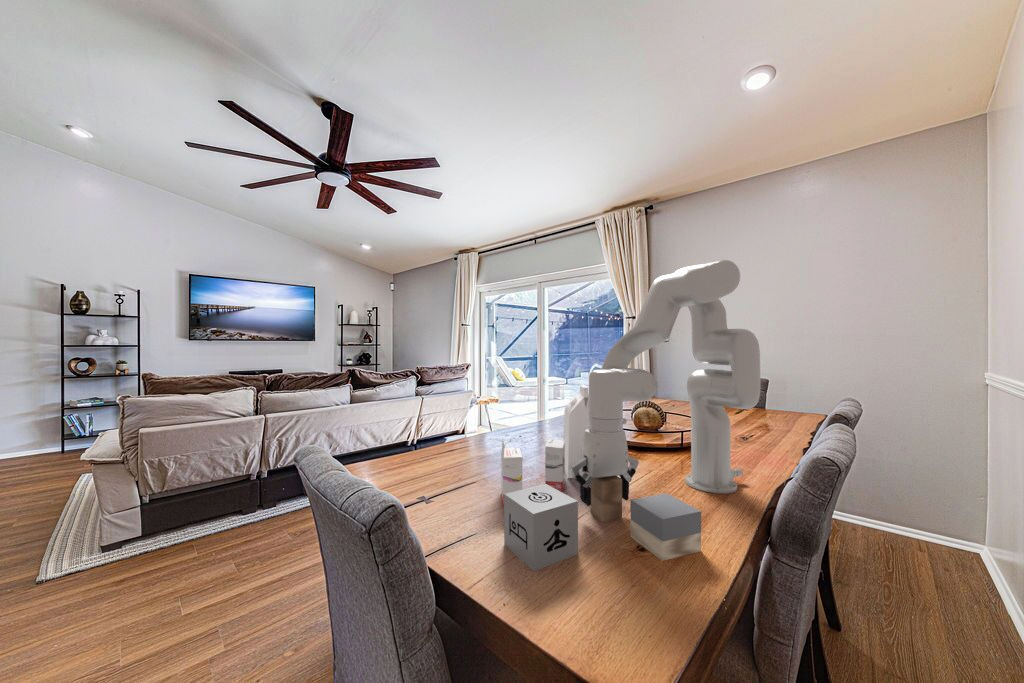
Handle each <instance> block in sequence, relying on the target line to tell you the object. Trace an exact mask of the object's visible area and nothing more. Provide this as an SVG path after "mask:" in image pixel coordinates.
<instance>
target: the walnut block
mask: <svg viewBox="0 0 1024 683" xmlns="http://www.w3.org/2000/svg"><path fill="white" fill-rule="evenodd" d="M590 488H591V505H590V514H592V515H593V516H594V517H595V518H596V519H597V520H599V521H601V523H607V522H612V521H617V520H622V519H623V498H622V479H621V478H620V476H619V475H618V476H611V477H603V478H594V479H593V481H592V482H591V484H590Z"/></svg>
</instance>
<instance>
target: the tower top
mask: <svg viewBox="0 0 1024 683" xmlns="http://www.w3.org/2000/svg"><path fill="white" fill-rule="evenodd" d="M630 519H631V520H632V521H634V522H635V523H637V524H638V525H639V526H641V527H642V528H644V529H645V530H647V531H648V532H650V533H651V534H652V535H654V536H655V537H657V538H658V539H660V540H661V541H662V542H663V541H668V540H672V539H676V538H681V537H685V536H689V535H693V534H698V533H701V534H702V510H699V509H698V508H696V507H694V506H692V505H690V504H689V503H686V502H684V501H682V500H681V499H679V498H677V497H675V496H672V495H671V494H669V493H666V492H664V493H660V494H655V495H653V494H652V495H647V496H642V497H637V498H632V499H630Z"/></svg>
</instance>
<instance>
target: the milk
mask: <svg viewBox="0 0 1024 683" xmlns="http://www.w3.org/2000/svg"><path fill="white" fill-rule="evenodd" d="M563 414H564V416H563V422H564V423H563V441H565V474H566V475H565V476H566V477H568V478H574V477H573V475H572V472H571V470H570V466H571V465H573V464H574V463H576V462H577V461H579V460H580V459H581V450H582V442H583V437H584V433H585V430H588V428H589V386H587V385H585V384H580V386H579V392H578V394H577V395H576V396H574V397H572V398H571V399H570V401H569V402H568V404H566V406H565V407H564V412H563ZM579 474H580V476H581V475H582V474H583V472H582V471H581V469H580V470H579ZM568 478H567V479H568Z"/></svg>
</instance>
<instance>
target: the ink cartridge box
mask: <svg viewBox="0 0 1024 683" xmlns="http://www.w3.org/2000/svg"><path fill="white" fill-rule="evenodd" d="M504 439H505V438H504V437H502V440H501V452H500V453H501V461H500V462H501V463H500V464H501V469H500V470H501V472H500V473H501V475H500V476H501V480H500V482H501V485H500V486H501V488H500V490H501V492H500V494H501V499H502V504H503V507H504V494H506V493H510V492H514V491H518V490H522V489H523V458H524V457H523V454H522V452H521V449H520V447H509V448H506V447H505V446H506V445H505V444H506V443H505V440H504Z"/></svg>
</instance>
